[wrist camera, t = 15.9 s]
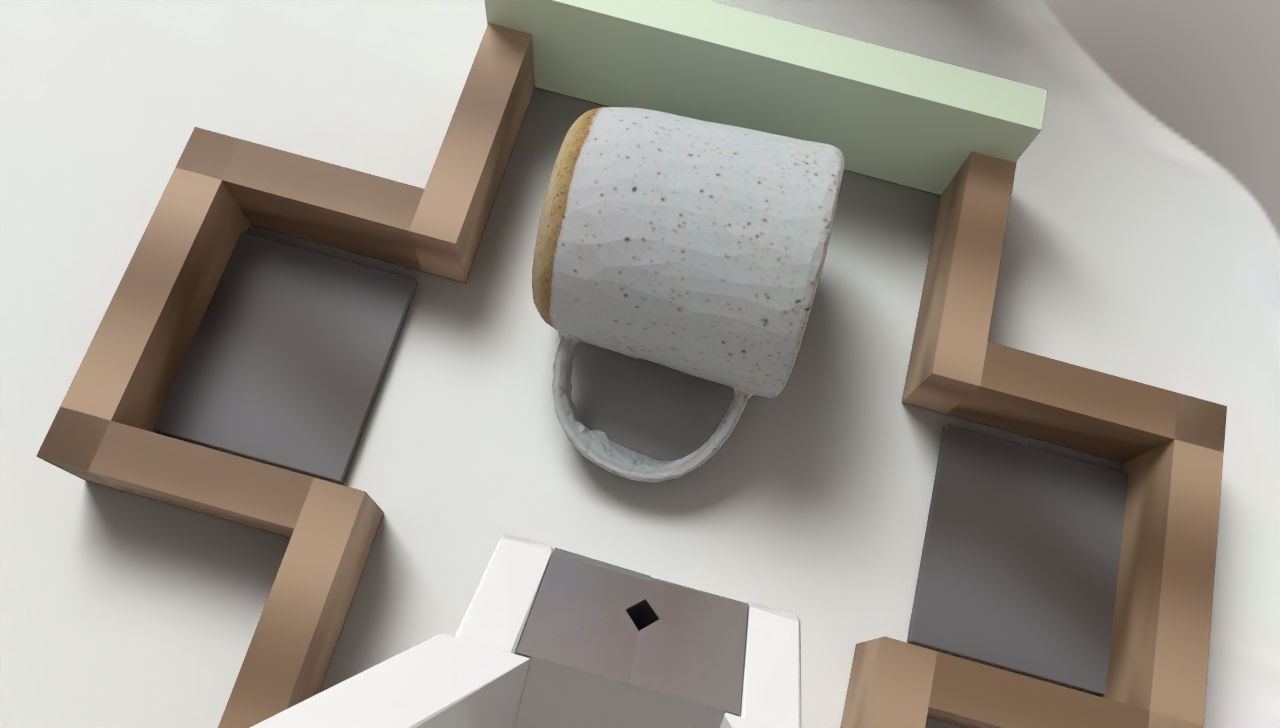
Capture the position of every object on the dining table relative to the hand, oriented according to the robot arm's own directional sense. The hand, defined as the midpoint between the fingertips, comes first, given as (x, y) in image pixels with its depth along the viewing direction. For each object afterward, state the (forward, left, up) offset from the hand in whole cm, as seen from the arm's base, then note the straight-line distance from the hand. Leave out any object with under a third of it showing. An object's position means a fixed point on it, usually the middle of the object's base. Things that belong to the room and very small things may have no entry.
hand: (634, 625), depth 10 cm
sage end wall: (+17, +11, -21) cm, 29 cm away
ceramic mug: (+9, +7, -22) cm, 25 cm away
